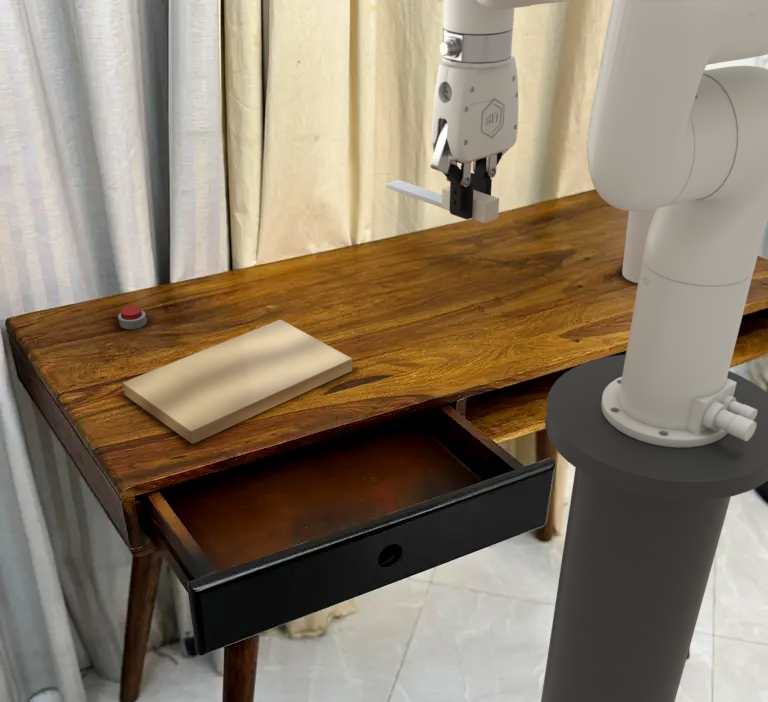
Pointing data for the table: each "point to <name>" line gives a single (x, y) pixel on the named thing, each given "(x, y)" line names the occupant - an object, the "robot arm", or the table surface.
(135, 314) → the push button
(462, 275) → the table surface
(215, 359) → the cutting board
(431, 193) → the knife
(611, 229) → the table surface
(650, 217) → the white cup
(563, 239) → the table surface
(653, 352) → the robot arm
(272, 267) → the table surface
